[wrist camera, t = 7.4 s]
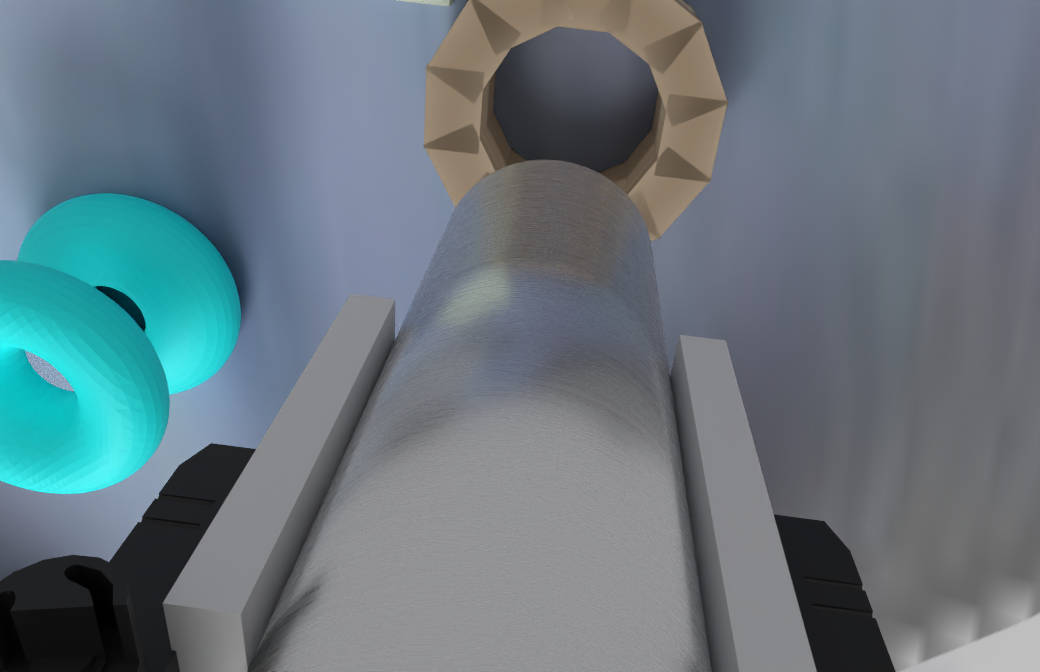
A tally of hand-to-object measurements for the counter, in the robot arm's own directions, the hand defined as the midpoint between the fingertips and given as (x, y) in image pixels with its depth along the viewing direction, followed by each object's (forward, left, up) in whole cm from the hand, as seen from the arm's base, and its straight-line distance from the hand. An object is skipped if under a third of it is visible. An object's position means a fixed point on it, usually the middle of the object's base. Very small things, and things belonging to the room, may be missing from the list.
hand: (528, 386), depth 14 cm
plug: (0, 0, -5) cm, 5 cm away
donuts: (-19, -11, -21) cm, 30 cm away
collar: (0, 0, -21) cm, 21 cm away
